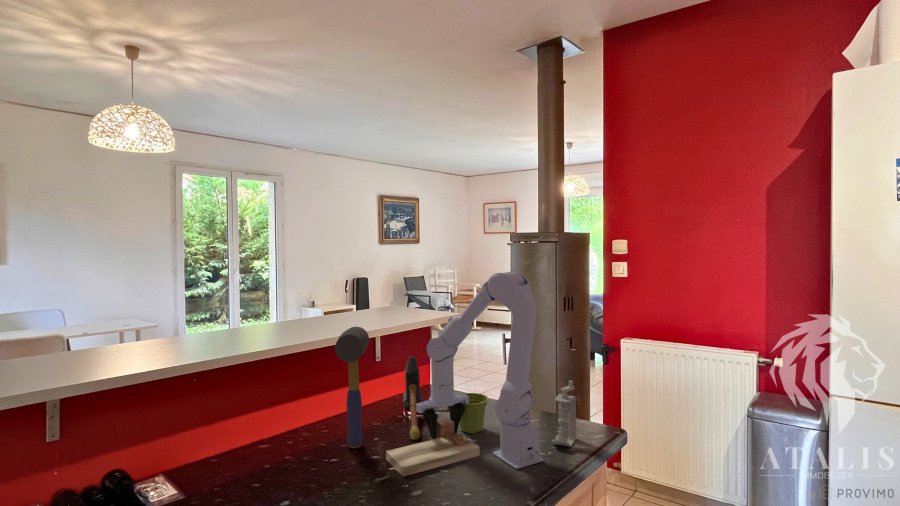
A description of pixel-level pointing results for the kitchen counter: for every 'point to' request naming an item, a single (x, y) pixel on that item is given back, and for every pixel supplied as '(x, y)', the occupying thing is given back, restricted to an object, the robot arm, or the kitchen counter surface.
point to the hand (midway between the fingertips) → (443, 435)
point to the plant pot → (473, 413)
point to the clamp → (566, 417)
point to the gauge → (448, 431)
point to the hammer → (412, 394)
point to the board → (430, 455)
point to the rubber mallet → (353, 378)
